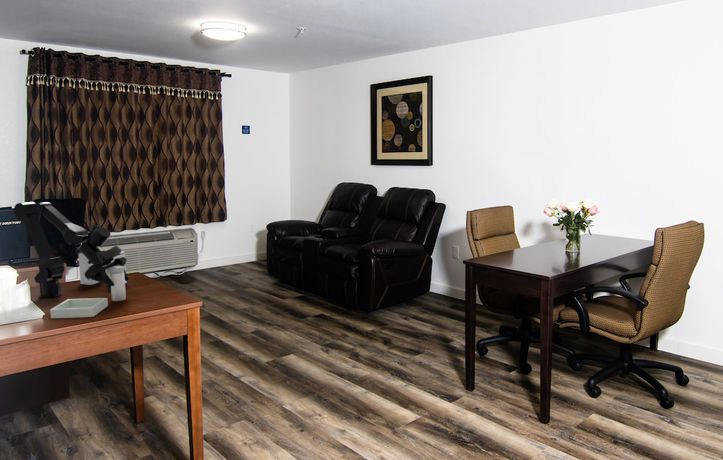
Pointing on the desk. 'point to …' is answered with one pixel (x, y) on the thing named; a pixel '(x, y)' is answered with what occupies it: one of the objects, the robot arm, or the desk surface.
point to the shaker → (117, 283)
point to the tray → (79, 308)
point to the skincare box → (83, 268)
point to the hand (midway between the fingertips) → (120, 283)
